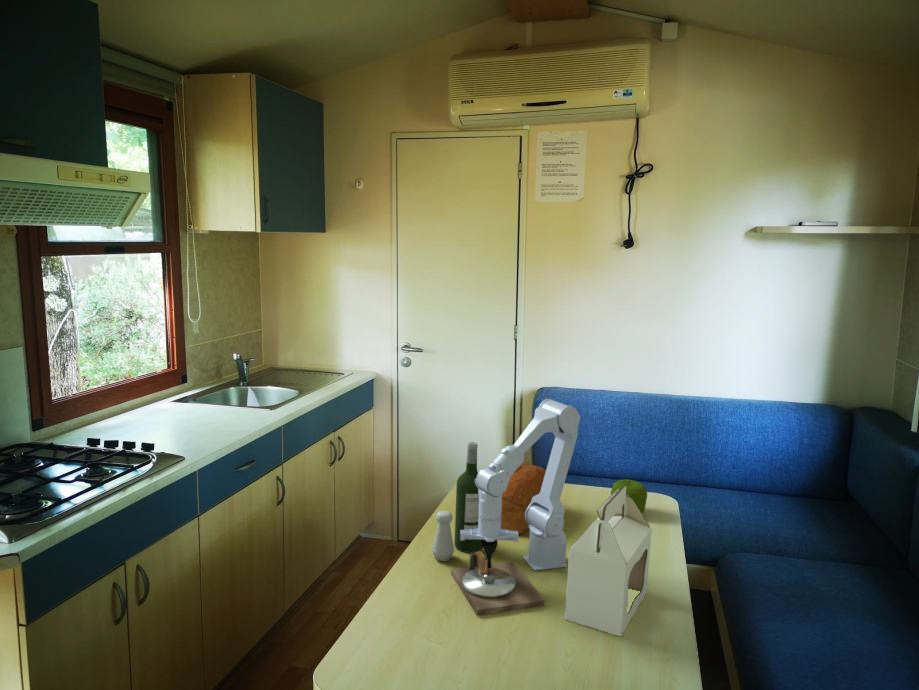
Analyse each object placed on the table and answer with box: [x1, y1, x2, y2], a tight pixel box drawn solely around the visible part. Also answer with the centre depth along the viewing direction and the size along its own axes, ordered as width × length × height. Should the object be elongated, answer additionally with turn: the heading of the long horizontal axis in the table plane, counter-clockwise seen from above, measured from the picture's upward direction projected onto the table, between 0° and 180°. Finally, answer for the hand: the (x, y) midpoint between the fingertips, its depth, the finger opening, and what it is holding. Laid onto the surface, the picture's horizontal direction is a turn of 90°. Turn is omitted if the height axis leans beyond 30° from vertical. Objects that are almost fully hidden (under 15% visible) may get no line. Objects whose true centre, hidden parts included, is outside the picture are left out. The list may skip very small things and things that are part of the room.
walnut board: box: [450, 552, 546, 617], centre depth 172 cm, size 17×20×6 cm
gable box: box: [564, 486, 653, 635], centre depth 164 cm, size 22×13×28 cm, turn 151°
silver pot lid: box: [462, 550, 515, 598], centre depth 172 cm, size 15×13×5 cm
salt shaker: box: [432, 510, 455, 562], centre depth 187 cm, size 6×6×13 cm
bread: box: [501, 462, 546, 536], centre depth 215 cm, size 16×27×16 cm, turn 152°
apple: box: [610, 479, 648, 517], centre depth 222 cm, size 11×11×11 cm
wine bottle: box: [454, 441, 483, 553], centre depth 193 cm, size 8×8×30 cm
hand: (488, 566), depth 177 cm, fingers closed, pressing on silver pot lid
